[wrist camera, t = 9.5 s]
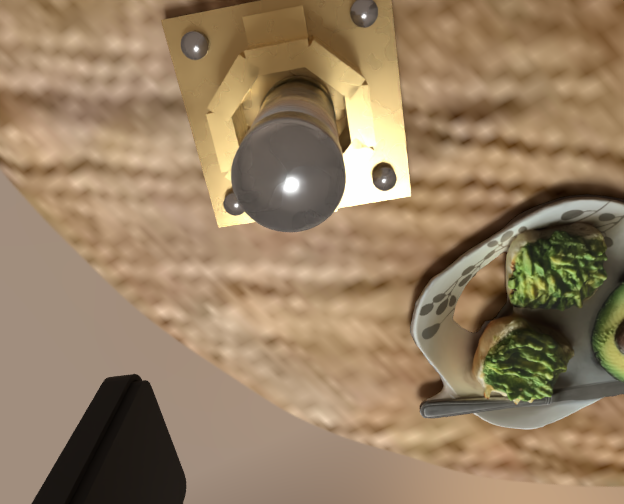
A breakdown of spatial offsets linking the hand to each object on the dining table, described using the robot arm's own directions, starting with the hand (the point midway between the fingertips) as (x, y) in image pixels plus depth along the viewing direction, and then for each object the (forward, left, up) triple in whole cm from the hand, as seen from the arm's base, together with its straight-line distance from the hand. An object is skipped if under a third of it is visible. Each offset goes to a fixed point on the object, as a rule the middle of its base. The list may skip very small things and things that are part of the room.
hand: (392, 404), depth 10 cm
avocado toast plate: (-13, +15, -24) cm, 31 cm away
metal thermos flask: (+2, -2, -22) cm, 22 cm away
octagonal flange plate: (+2, -2, -23) cm, 23 cm away
